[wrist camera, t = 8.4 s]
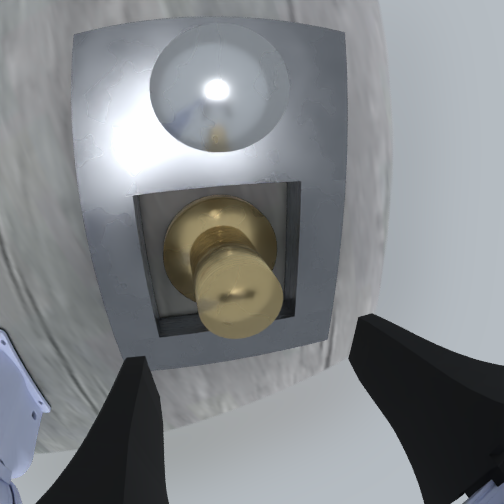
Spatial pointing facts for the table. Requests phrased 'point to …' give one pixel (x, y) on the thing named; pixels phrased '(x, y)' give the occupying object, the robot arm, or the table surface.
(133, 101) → the carrier plate
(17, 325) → the table surface
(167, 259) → the gold flanged round piece
